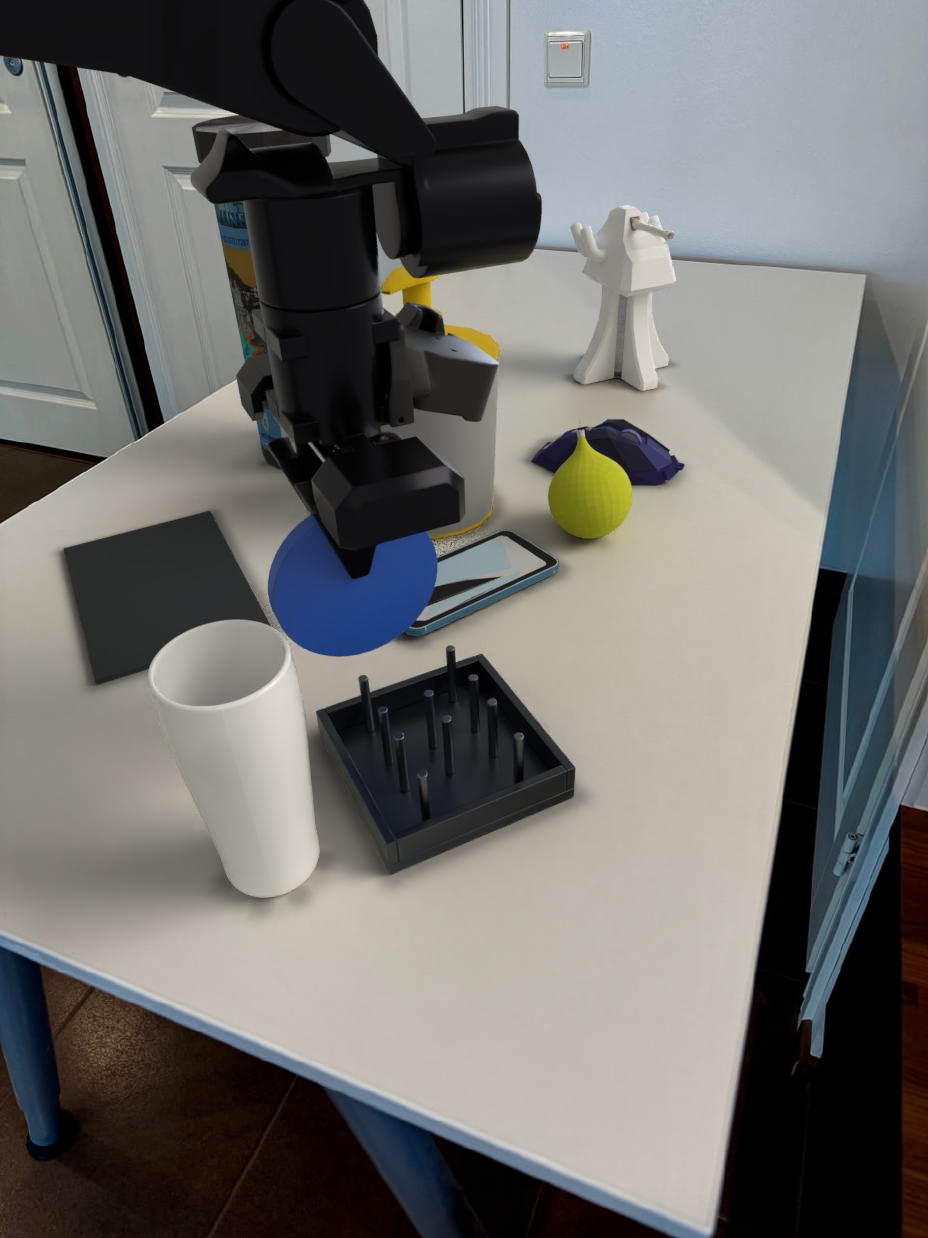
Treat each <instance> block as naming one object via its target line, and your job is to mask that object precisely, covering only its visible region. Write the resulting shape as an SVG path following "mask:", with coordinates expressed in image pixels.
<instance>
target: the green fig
mask: <svg viewBox="0 0 928 1238" xmlns="http://www.w3.org/2000/svg"><path fill="white" fill-rule="evenodd" d="M579 425H581V421H579ZM579 428H580V429H581V427H579ZM577 438H578V442H577V446H576V449H575V451H574V452H573V454H572V455H571V456H570V457H569V458H568V460H567V461H565V462H564V463H563V464H562V466H561V467H560V468H559V469H558V470H557V471H556V473H555V472H554V475H553V476H552V478H551V480H550V483H549V486H548V492H547V503H548V508H549V511H550V514H551V516H552V518H553V519H554V521H555V523H557V525H558V526H559V527H560V528H561V529H562V530H563V531H565V532H567V533H568V534H569V535H572V536H574V537H576V538H581V539H598V538H602V537H605V536H607V535H610V534H611V533H613V532H614V531H616V530H617V529H618V528H619V527H621V525H623V524H624V522H625V520H626V519H627V517H628V515H629V513H630V510H631V508H632V504H633V498H634V495H633V487H632V485H631V483H630V480H629V478H628V476H627V474H626V473H625V471H624V470H623V468H622V467H621V466H620V465H619V464H618V463H616V462H615V461H613V460H611V459H610V458H608V457H606V456H604V455H602V454H600V453H598V452H597V451H595V450H594V449H593V448H591V447H590V445H589V444H588V443H587V441H586V439H585V432H584V430H580V431H577Z"/></svg>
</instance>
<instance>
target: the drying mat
mask: <svg viewBox="0 0 928 1238" xmlns="http://www.w3.org/2000/svg"><path fill="white" fill-rule="evenodd" d="M63 552H64V557H65V560H66V565H67V570H68V574H69V579H70V582H71V587H72V590H73V594H74V598H75V602H76V603H75V604H76V607H77V611H78V616H79V620H80V624H81V628H82V632H83V636H84V641H85V645H86V650H87V653H88V658H89V662H90V666H91V670H92V675H93V678H94V682H95V685H99V684H102V683H105V682H109V681H112V680H116V679H118V678H122V677H125V676H129V675H131V674H135V673H138V672H141V671H144V670H147V669H148V670H149V667H150V664H151V662H152V660H153V659H154V657H155V656H156V654H157V653H158V652H159V651H160V650H161V649H162V648H163V647H164V646H165V645H166V644H167V643H169V642H170V641H171V640H173V639H174V638H175V637H177V636H179V635H180V634H182V633H184V632H186V631H188V630H190V629H193V628H195V627H198V626H201V625H204V624H208V623H212V622H217V621H223V620H251V621H257V622H261V623H264V624H267V625H269V626H271V627H272V625H271V623H270V621H269V619H268V617H267V616H266V614H265V612H264V610H263V608H262V606H261V604H260V603H259V601H258V599H257V597H256V595H255V593H254V591H253V589H252V588H251V585H250V584H249V582H248V580H247V578H246V575H245V574H244V572H243V570H242V568H241V567H240V565H239V563H238V561H237V559H236V557H235V555H234V553H233V551H232V550H231V547H230V546H229V543H228V542H227V540H226V538H225V537H224V534H223V532H222V531H221V529H220V526H219V524H218V523H217V521H216V519H215V517H214V514H213V513H212V511H211V510H207V511H202V512H199V513H194V514H191V515H187V516H183V517H180V518H175V519H172V520H168V521H164V522H160V523H156V524H152V525H148V526H144V527H141V528H137V529H133V530H129V531H125V532H122V533H118V534H117V533H116V534H114V535H110V536H105V537H102V538H97V539H94V540H90V541H87V542H83V543H79V544H75V545H71V546H67V547H64V548H63Z"/></svg>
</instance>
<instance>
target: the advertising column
mask: <svg viewBox="0 0 928 1238" xmlns="http://www.w3.org/2000/svg"><path fill="white" fill-rule="evenodd" d="M221 129H225V130H227V131H229V132H231V133H232V134H234V135H236V136H237V137H238V138H239V139H240V140H241V141H242V142H243V144H244V145H245V146H246V147H247V148H248V149H252V148H262V147H271V146H281V145H290V144H300V143H309V142H311V143H314V144H316V145H317V146H318V147H319V148H320V150H321V151H322V152H323V154H324V156H325V158H328V157H329V156H330V155H331V153H332V143H331V135H328V136H319V137H305V136H301V135H297V134H293V133H290V132H287V131H284V130H281V129H278V128H275V127H273V126H270V125H267V124H264V123H261V122H258V121H255V120H252V119H249V118H246V117H243V116H240V115H238V114H234V115H229V116H222V117H218V118H217V117H216V118H211V119H207V120H204V121H201V122H197V123H196V124H194V125H193V126H191V133H192V137H193V142H194V147H195V153H196V157H197V162H198V163H199V165H200V164H201V163H202V161H203V160H204V159H205V158H206V157H207V155H208V154H209V153H210V151H211V149H212V147H213V145H214V142H215V139H216V135H217V132H218V131H219V130H221ZM213 206H214V210H215V217H216V221H217V227H218V232H219V237H220V241H221V242H220V243H221V247H222V252H223V258H224V262H225V268H226V272H227V278H228V282H229V288H230V293H231V298H232V304H233V308H234V314H235V319H236V324H237V328H238V334H239V338H240V345H241V349H242V354H243V360H244V362H245V361H246V360H247V359H248V357H251V356H256V355H262V354H267V353H268V350H267V344H266V343H265V342H264V340H263V339H262V338H261V337H260V336H259V335H258V334H257V332H256V331H255V327H254V322H253V316H252V310H256V309H261V308H260V302H259V296H258V290H257V284H256V278H255V272H254V267H253V261H252V255H251V249H250V243H249V237H248V231H247V225H246V219H245V213H244V207H243V201H240V202H232V203H224V204H213ZM262 402H263V408H264V415H263V419H262V420H257V421H255V422H256V428H257V432H258V436H259V442H260V448H261V452H262V456H263V458H264V460H265V461H266V463H267V464H268V465H270V466H272V467H274V468H276V469H277V470H280V471H282V469H281V468H280V466H279V464H278V463H277V461H276V460H275V458H274V456H273V455H272V453H271V452H270V450H269V448H268V443H269V442H270V441H272V440H274V439H278V438H282V436H281V430H280V425H279V424H278V423H277V421H276V420H275V419H274V417H273V416H272V413H271V412H270V410H269V408H268V402H267V400H266V401H262Z"/></svg>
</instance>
